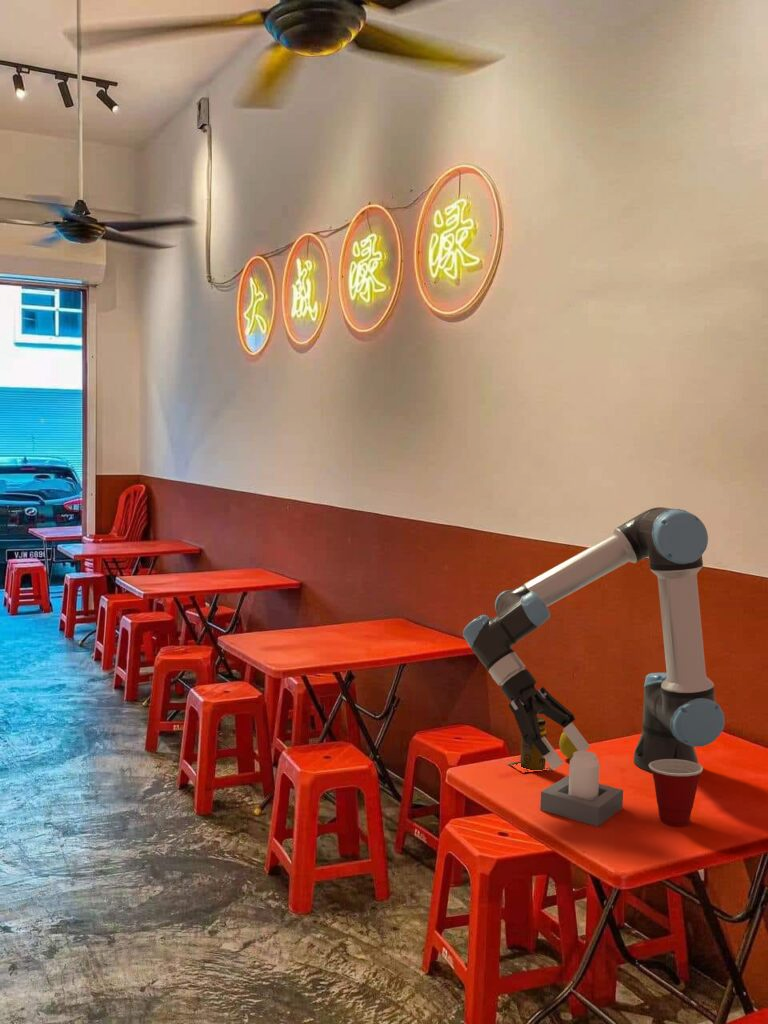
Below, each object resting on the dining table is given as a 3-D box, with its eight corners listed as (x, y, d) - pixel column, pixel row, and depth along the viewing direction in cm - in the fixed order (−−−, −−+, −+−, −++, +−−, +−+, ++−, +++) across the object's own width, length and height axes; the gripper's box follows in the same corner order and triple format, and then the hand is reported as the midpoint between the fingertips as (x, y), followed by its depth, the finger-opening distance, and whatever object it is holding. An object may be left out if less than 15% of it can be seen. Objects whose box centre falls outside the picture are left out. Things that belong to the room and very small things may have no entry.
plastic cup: (658, 806, 190) (660, 752, 190) (708, 820, 183) (710, 764, 183) (637, 821, 182) (640, 764, 181) (689, 836, 175) (692, 777, 174)
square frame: (567, 792, 197) (567, 775, 196) (622, 808, 189) (623, 789, 188) (540, 810, 186) (541, 791, 186) (597, 826, 178) (598, 807, 178)
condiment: (552, 770, 211) (554, 721, 211) (523, 774, 208) (525, 724, 207) (535, 760, 218) (537, 713, 217) (506, 764, 214) (508, 716, 214)
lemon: (569, 754, 223) (570, 723, 223) (585, 760, 219) (587, 729, 218) (554, 757, 220) (555, 726, 220) (570, 764, 216) (571, 732, 215)
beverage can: (586, 802, 191) (588, 748, 191) (603, 813, 186) (605, 757, 185) (562, 805, 189) (564, 751, 188) (579, 816, 183) (581, 760, 183)
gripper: (528, 677, 208) (584, 753, 200) (473, 698, 188) (534, 783, 180) (549, 658, 204) (607, 735, 196) (496, 678, 184) (558, 764, 176)
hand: (572, 758), depth 188 cm, fingers open, 13 cm apart
